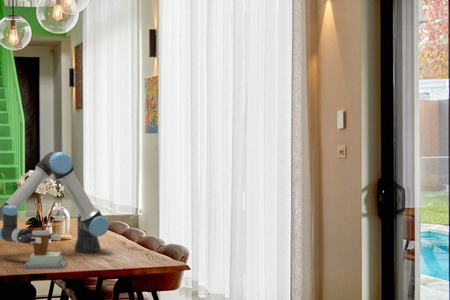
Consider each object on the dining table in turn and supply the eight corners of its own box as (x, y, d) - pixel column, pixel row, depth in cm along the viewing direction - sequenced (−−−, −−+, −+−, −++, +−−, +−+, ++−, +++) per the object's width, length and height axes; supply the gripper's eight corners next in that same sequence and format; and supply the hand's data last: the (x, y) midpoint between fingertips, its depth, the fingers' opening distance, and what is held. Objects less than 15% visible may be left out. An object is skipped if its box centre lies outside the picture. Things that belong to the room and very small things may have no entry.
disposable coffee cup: (40, 255, 392) (40, 231, 393) (27, 254, 398) (27, 230, 398) (53, 253, 401) (54, 230, 401) (40, 252, 406) (41, 229, 406)
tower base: (67, 262, 412) (67, 250, 412) (63, 268, 392) (63, 256, 392) (28, 262, 410) (29, 251, 409) (23, 268, 390) (23, 257, 390)
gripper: (39, 240, 421) (67, 243, 409) (3, 245, 400) (32, 249, 388) (40, 226, 421) (67, 229, 409) (3, 231, 400) (32, 234, 388)
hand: (50, 239), depth 399 cm, fingers open, 13 cm apart
